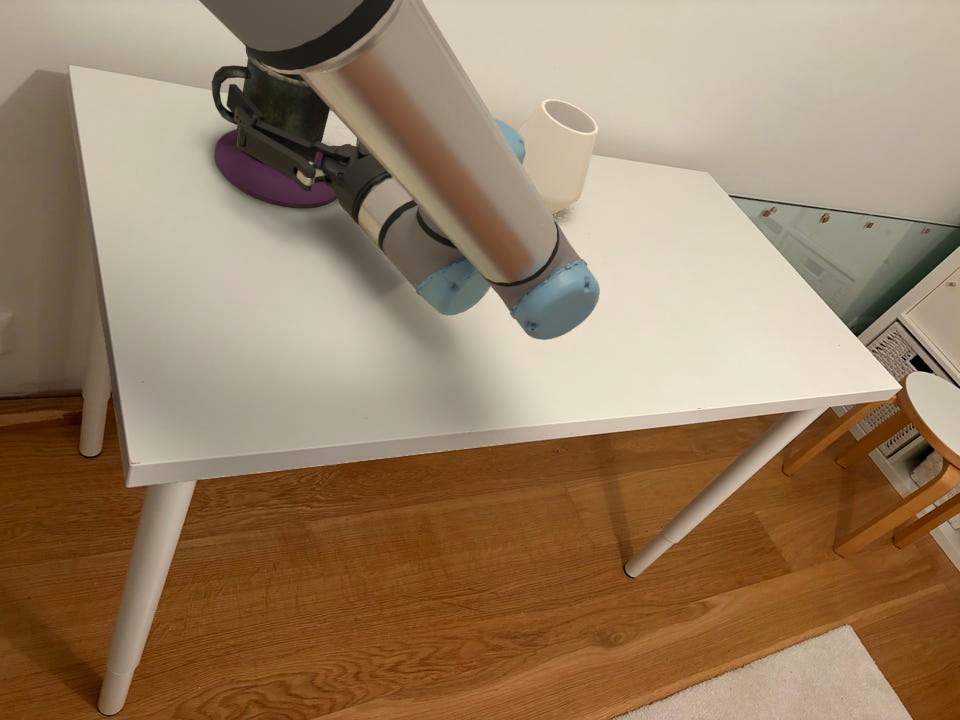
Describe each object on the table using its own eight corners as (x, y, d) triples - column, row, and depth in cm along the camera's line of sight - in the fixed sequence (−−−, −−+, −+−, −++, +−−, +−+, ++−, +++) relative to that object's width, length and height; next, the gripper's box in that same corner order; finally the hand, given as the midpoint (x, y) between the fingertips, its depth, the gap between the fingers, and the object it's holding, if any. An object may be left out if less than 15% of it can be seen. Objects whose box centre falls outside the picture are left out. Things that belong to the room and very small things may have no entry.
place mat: (185, 145, 87) (185, 141, 86) (282, 120, 98) (283, 116, 98) (280, 222, 84) (281, 218, 83) (368, 187, 95) (370, 183, 95)
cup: (527, 165, 116) (565, 86, 107) (585, 216, 112) (630, 139, 103) (471, 176, 107) (507, 91, 98) (532, 232, 103) (576, 149, 94)
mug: (332, 174, 93) (355, 89, 85) (215, 168, 85) (229, 74, 77) (306, 125, 99) (326, 42, 91) (194, 116, 91) (205, 23, 83)
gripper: (279, 248, 74) (179, 127, 81) (453, 213, 90) (356, 114, 98) (292, 188, 69) (185, 64, 76) (474, 162, 85) (370, 62, 93)
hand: (281, 92), depth 87 cm, fingers closed on mug, 12 cm apart
